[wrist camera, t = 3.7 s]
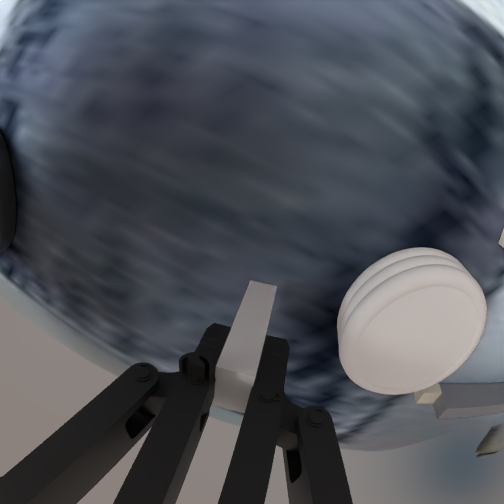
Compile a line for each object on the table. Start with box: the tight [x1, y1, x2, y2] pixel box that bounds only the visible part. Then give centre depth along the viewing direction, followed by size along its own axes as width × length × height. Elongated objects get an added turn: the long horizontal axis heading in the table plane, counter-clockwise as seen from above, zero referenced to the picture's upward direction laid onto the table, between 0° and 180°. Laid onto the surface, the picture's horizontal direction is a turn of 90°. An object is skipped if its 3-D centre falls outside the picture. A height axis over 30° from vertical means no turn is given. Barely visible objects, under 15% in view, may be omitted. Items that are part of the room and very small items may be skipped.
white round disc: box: [337, 247, 487, 395], centre depth 15 cm, size 10×10×4 cm
